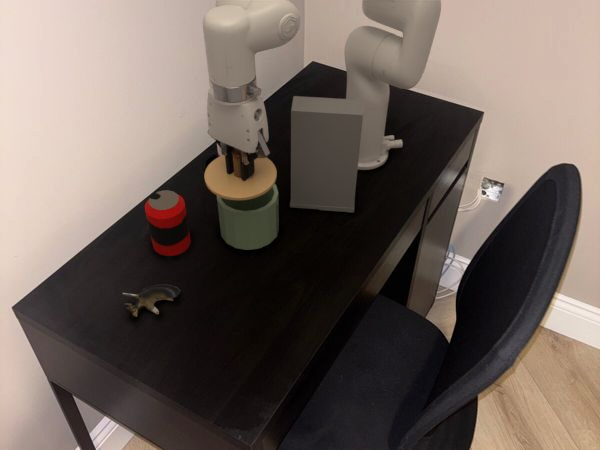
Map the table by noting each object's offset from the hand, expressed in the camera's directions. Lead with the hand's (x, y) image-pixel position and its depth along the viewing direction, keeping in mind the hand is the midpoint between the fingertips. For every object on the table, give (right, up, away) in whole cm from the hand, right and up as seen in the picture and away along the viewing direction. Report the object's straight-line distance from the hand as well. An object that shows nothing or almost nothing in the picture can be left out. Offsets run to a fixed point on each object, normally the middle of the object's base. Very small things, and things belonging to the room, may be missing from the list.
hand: (240, 172), depth 110 cm
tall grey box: (+16, -5, +23) cm, 28 cm away
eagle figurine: (-16, -25, +1) cm, 30 cm away
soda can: (-15, -14, +13) cm, 24 cm away
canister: (0, -11, +16) cm, 19 cm away
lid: (0, -1, +1) cm, 1 cm away
